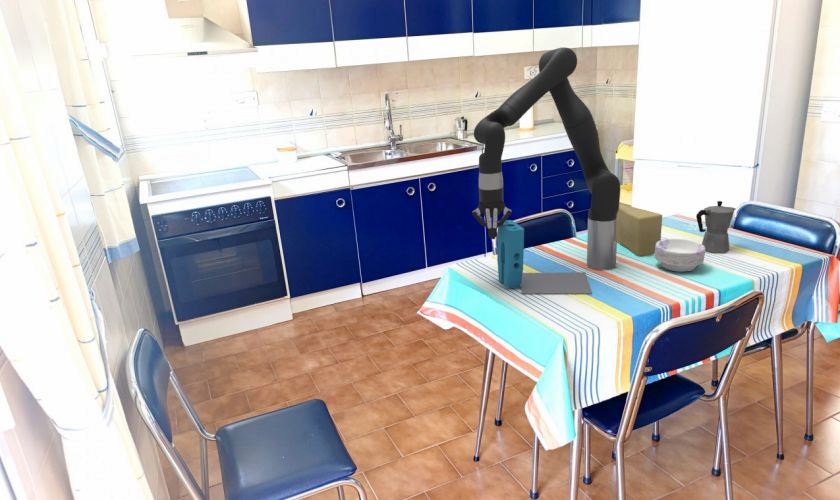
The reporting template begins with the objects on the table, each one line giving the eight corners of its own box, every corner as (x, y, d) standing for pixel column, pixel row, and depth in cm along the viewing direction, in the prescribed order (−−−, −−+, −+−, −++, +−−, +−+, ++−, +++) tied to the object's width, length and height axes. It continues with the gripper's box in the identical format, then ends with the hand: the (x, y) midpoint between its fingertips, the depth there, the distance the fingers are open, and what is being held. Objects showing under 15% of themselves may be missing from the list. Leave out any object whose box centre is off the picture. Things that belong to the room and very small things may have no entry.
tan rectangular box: (602, 240, 221) (603, 203, 216) (623, 237, 223) (625, 200, 218) (637, 257, 201) (640, 217, 196) (661, 253, 203) (663, 213, 198)
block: (523, 289, 180) (525, 229, 174) (508, 290, 179) (509, 230, 173) (510, 276, 192) (511, 219, 185) (496, 277, 191) (496, 221, 184)
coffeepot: (721, 243, 208) (726, 196, 202) (740, 250, 199) (746, 201, 194) (684, 248, 205) (688, 201, 199) (702, 256, 196) (707, 207, 191)
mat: (585, 273, 190) (585, 272, 190) (592, 294, 173) (592, 293, 173) (520, 273, 193) (520, 272, 193) (521, 294, 176) (521, 293, 176)
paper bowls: (709, 275, 181) (711, 252, 178) (659, 275, 183) (661, 252, 181) (695, 259, 195) (697, 237, 192) (649, 259, 198) (651, 238, 195)
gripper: (512, 182, 178) (513, 234, 184) (470, 184, 180) (473, 235, 186) (512, 187, 171) (513, 241, 177) (469, 189, 173) (471, 242, 179)
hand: (492, 238), depth 181 cm, fingers closed
